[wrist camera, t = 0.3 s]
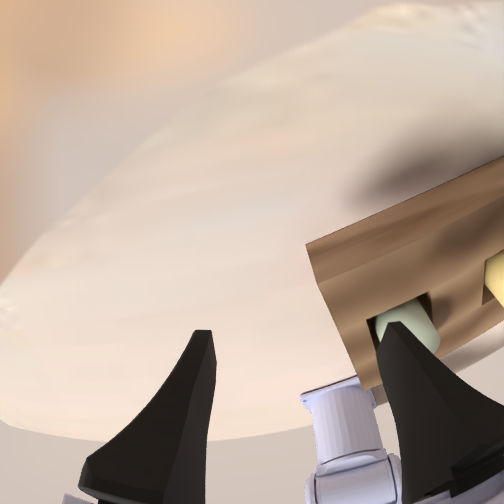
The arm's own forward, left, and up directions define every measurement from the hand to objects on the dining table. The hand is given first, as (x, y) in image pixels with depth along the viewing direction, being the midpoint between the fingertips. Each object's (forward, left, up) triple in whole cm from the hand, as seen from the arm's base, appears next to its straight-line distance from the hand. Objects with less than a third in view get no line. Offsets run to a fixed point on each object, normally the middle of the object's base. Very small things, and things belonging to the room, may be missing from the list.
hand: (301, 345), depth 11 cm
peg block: (-9, -11, -10) cm, 17 cm away
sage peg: (-9, -6, -7) cm, 13 cm away
